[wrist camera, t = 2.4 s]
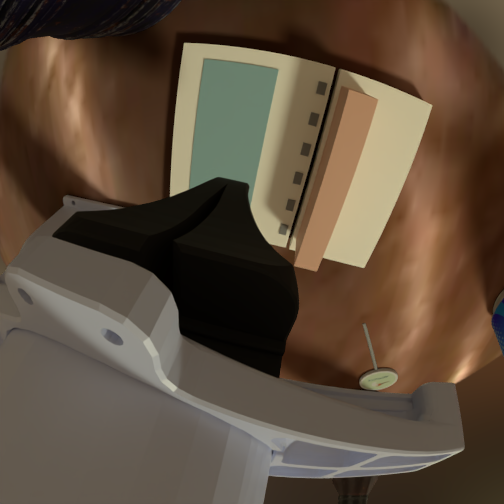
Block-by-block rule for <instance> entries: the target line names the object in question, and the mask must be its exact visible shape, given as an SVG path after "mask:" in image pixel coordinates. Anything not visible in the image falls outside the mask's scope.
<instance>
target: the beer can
mask: <svg viewBox="0 0 504 504" xmlns="http://www.w3.org/2000/svg"><path fill="white" fill-rule="evenodd" d="M491 322H492V327H493V329H494V332H495V334H496V337H497V339H498V342H499V345H500V347H501V350H502V353H503V356H504V289H503V291H502V292H501V293H500V295H499V296H498V298H497V299H496V301H495V304H494V307H493V316H492V321H491Z"/></svg>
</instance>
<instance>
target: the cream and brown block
mask: <svg viewBox="0 0 504 504" xmlns="http://www.w3.org/2000/svg"><path fill="white" fill-rule="evenodd" d="M431 108H432V105H431V104H429V103H427V102H424V101H422V100H420V99H418V98H416V97H414V96H412V95H409V94H407V93H405V92H402V91H400V90H398V89H395V88H393V87H390V86H388V85H385V84H383V83H380V82H378V81H375V80H372V79H370V78H367V77H364V76H361V75H358V74H355V73H352V72H349V71H346V70H343V69H339V70H338V74H337V78H336V81H335V85H334V89H333V93H332V97H331V101H330V105H329V108H328V112H327V116H326V119H325V123H324V127H323V130H322V134H321V138H320V141H319V145H318V148H317V152H316V156H315V159H314V163H313V166H312V170H311V173H310V176H309V180H308V183H307V187H306V190H305V193H304V197H303V200H302V203H301V207H300V210H299V213H298V217H297V220H296V223H295V226H294V230H293V233H292V236H291V239H290V248H289V249H290V250H294V251H295V261H294V266H297V267H301V268H305V269H309V270H313V271H317V270H318V267H319V265H320V262H321V260H322V258H326V259H330V260H334V261H338V262H342V263H346V264H350V265H354V266H358V267H362V268H364V267H365V265H366V263H367V261H368V260H369V258H370V256H371V254H372V252H373V250H374V248H375V246H376V244H377V242H378V240H379V238H380V235H381V233H382V231H383V229H384V227H385V225H386V223H387V221H388V219H389V216H390V214H391V212H392V210H393V208H394V205H395V203H396V201H397V199H398V196H399V194H400V192H401V189H402V187H403V184H404V182H405V180H406V177H407V175H408V172H409V170H410V167H411V165H412V162H413V160H414V157H415V154H416V152H417V149H418V146H419V144H420V141H421V138H422V135H423V132H424V129H425V126H426V123H427V121H428V117H429V114H430V111H431Z"/></svg>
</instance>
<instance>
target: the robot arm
mask: <svg viewBox="0 0 504 504" xmlns="http://www.w3.org/2000/svg"><path fill="white" fill-rule="evenodd" d="M249 187H250V186H249V185H248V183H245V182H241V181H236V180H232V179H227V178H222V177H216V178H213V179H211V180H209V181H207V182H204V183H202V184H200V185H198V186H196V187H193V188H191V189H189V190H186V191H184V192H181V193H179V194H176V195H174V196H171V197H168V198H165V199H162V200H158V201H155V202H151V203H146V204H142V205H137V206H132V207H126V208H124V207H120V206H115V205H111V204H106V203H102V202H97V201H93V200H88V199H84V198H79V197H74V196H70V195H66V196H64V197H63V203H64V206H63V207H62V208H61V209H59V210H58V211H57V212H56V213H55V214H54V215H53V216H51V217H50V218H49V219H48V220H47V221H46V222H45V223H43V224H42V225H41V226H40V227H39V228H38V229H37V230H36V231H35V232H34V233H33V234H32V235H30V236H29V238H28V239H27V240H26V241H25V243H24V244H23V246H22V248H21V251H20V253H19V254H18V255H17V256H16V258H15V259H14V260H13V261H12V262H11V263H10V264H9V265H8V266H7V269H6V271H5V272H4V273H3V274H2V275H1V276H0V504H263V502H264V496H265V491H266V486H267V480H268V476H278V477H295V478H344V477H362V476H374V475H385V474H393V473H394V474H395V473H404V472H412V471H417V470H419V469H422V468H425V467H427V466H429V465H432V464H434V463H437V462H439V461H441V460H444V459H445V458H448V457H450V456H452V455H454V454H456V453H459V452H460V451H463V449H464V448H465V447H464V437H463V430H462V423H461V415H460V409H459V404H458V398H457V393H456V388H455V384H454V383H443V382H429V383H426V384H423V385H422V386H420V387H419V388H417V389H416V390H415V391H414V392H413V393H412V394H400V393H385V392H374V391H363V390H354V389H346V388H338V387H331V386H324V385H317V384H311V383H305V382H299V381H293V380H288V379H283V378H279V375H280V368H281V360H282V356H283V354H284V352H285V345H286V339H287V337H288V335H289V333H290V331H291V329H292V327H293V325H294V322H295V320H296V318H297V314H298V310H299V295H298V287H297V280H296V276H295V271H294V267H293V265H292V264H291V263H289V262H288V261H287V260H286V259H285V258H283V257H282V256H281V255H280V254H278V253H277V252H276V251H275V250H274V249H273V247H272V246H271V245H270V244H269V243H268V242H267V241H266V239H265V238H264V236H263V235H262V233H261V232H260V230H259V228H258V226H257V224H256V222H255V220H254V217H253V214H252V211H251V208H250V203H249V198H248V193H249Z"/></svg>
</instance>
